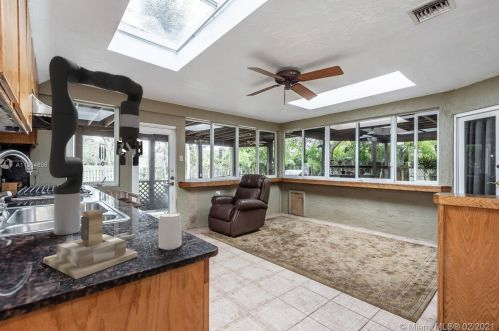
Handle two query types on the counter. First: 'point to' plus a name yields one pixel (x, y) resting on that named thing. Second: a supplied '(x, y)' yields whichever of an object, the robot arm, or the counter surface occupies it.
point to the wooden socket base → (89, 256)
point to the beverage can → (170, 231)
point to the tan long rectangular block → (92, 227)
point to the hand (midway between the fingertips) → (128, 165)
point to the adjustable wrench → (125, 236)
